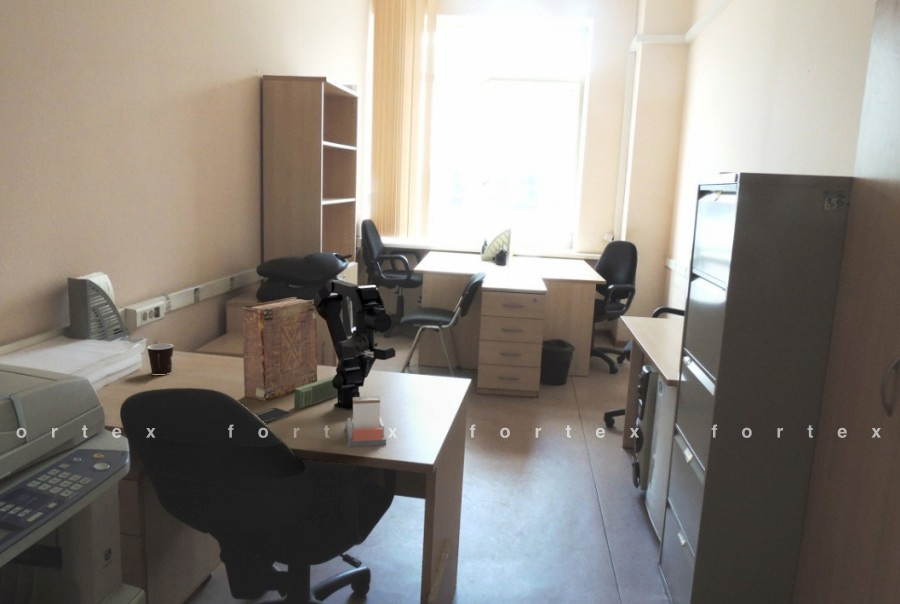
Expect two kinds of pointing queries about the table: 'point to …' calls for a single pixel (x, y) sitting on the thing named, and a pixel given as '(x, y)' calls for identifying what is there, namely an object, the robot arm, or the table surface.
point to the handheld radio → (314, 392)
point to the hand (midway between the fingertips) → (365, 377)
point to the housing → (365, 435)
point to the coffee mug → (160, 358)
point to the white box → (366, 412)
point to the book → (279, 347)
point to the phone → (272, 415)
